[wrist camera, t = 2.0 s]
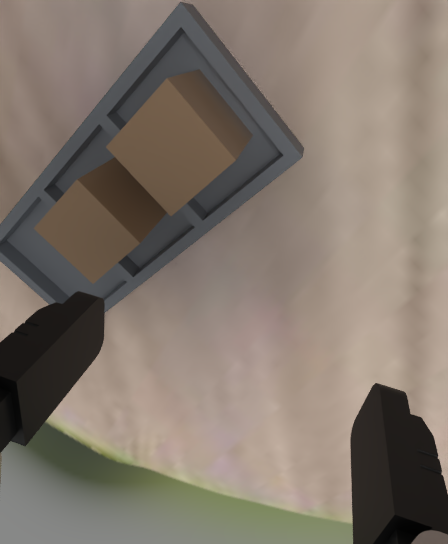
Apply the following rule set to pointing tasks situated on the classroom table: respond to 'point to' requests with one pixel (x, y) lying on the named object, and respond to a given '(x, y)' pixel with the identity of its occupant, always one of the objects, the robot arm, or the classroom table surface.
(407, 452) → the robot arm
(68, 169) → the tray
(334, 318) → the classroom table surface
